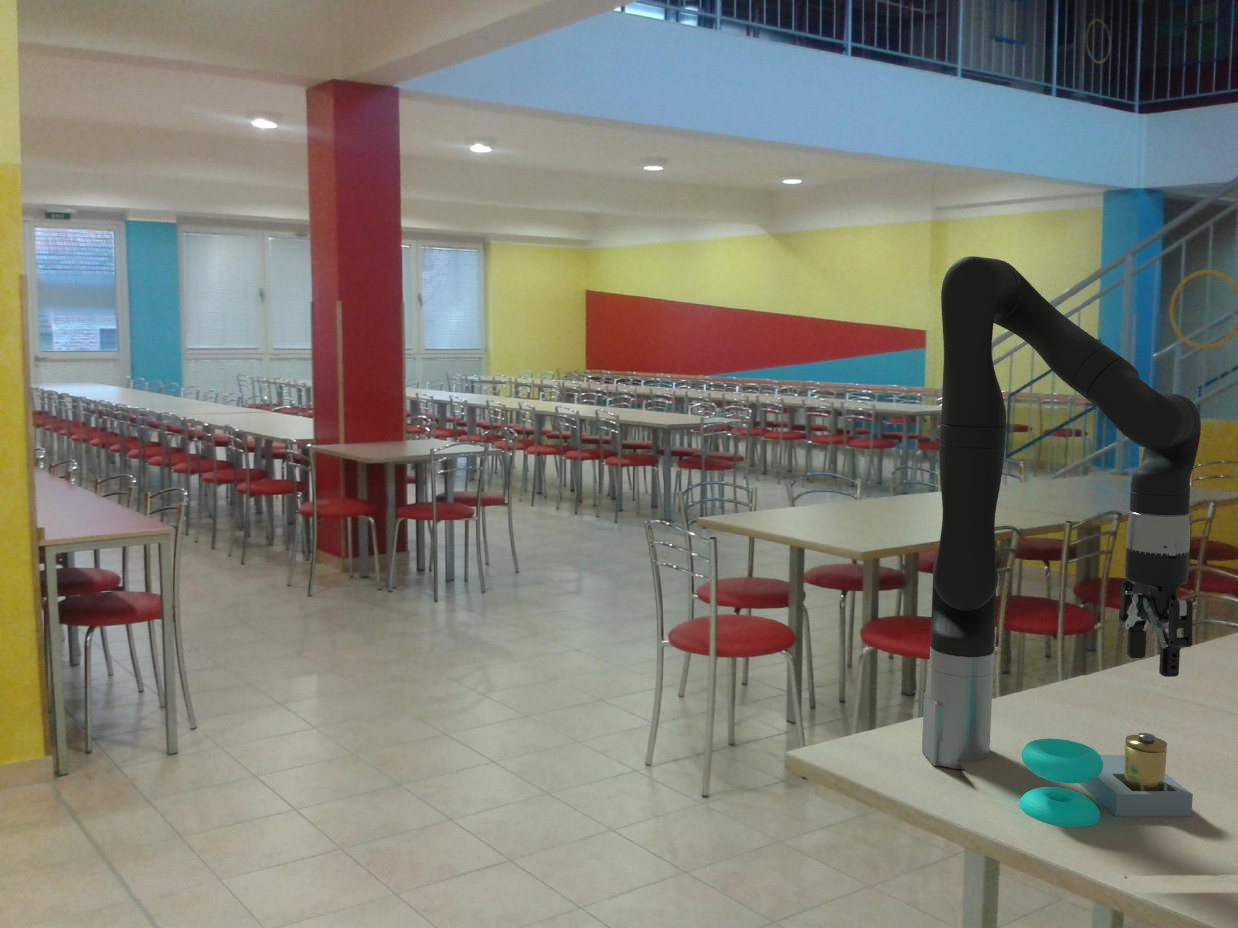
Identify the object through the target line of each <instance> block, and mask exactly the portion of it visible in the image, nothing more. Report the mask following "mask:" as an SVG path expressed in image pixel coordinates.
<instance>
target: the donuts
mask: <svg viewBox="0 0 1238 928" xmlns="http://www.w3.org/2000/svg"><path fill="white" fill-rule="evenodd" d="M1100 755H1101V754H1099V752H1097V751H1096V749H1093V748H1092V747H1090V746H1088V745H1086V744H1083V743H1080V742H1078V741H1077V742H1076V741H1073V740H1068V739H1061V738H1039V739H1035V740H1032V741H1030V742H1028V743H1026V744H1025V746H1024V747H1023V748H1022V751H1021V759H1022V762H1023V764H1024V765H1025V767H1026V768H1027V769H1028V770H1029V771H1030V772H1032V774H1034V775H1036V776H1038V777H1040V778H1043V779H1045V780H1048V781H1051V782H1056V783H1061V784H1079V783H1083V782H1088V781H1091V780H1093V779H1095V778H1096V777H1097V776H1098V775H1099V774H1100V773H1101V772H1102V769H1103V760H1102V758H1101V756H1100ZM1018 807H1019V809H1020V810H1021V811H1022V812H1023V814H1025V815H1026V816H1028V817H1031V818H1032V819H1034V820H1037V821H1040V822H1041V823H1046V824H1049V825H1050V824H1051V825H1054V826H1059V827H1060V826H1061V827H1071V828H1077V827H1079V828H1080V827H1088V826H1092V825H1095V824H1097V823H1098V822H1100V819H1101V813H1100V810H1099V807H1098V806H1097V804H1096V803H1095V802H1094V801H1093V800H1091V799H1090V798H1089V797H1088V796H1086V795H1084V794H1082V793H1081V792H1078V791H1076V790H1072V789H1069V788H1064V787H1056V786H1041V787H1037V788H1033V789H1030V790H1029V791H1026V792H1025V793H1024V794H1023V795H1022V796H1021V798H1020V800H1019V805H1018Z"/></svg>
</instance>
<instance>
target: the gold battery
mask: <svg viewBox="0 0 1238 928" xmlns="http://www.w3.org/2000/svg"><path fill="white" fill-rule="evenodd" d="M1124 747H1125V748H1124V755H1125V759H1124V776H1123V784H1124V785H1126V786H1127V787H1128V788H1129V789H1130V790H1132V791H1164V784H1165V774H1166V768H1167V751H1168V750H1167V749H1168V743H1167V742H1166V741H1165V740H1164V739H1162V738H1159V737H1156V736H1155V735H1154V734H1152V733H1148V732H1139V733H1138V734H1129V735H1127V736H1126V737H1125V743H1124Z"/></svg>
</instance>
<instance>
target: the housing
mask: <svg viewBox="0 0 1238 928" xmlns="http://www.w3.org/2000/svg"><path fill="white" fill-rule="evenodd" d="M1099 755H1100V756H1101V758H1102V760H1103V769H1102V772H1101V773H1100V774H1099V775H1098V776H1097V777H1096V778H1095V779H1093V780H1091V781H1088V782H1083V783H1078V784H1079V785H1080V786H1081V787H1082V788H1083V789H1085V791H1087V792H1088V793H1089V794H1091V796H1092V797H1093V798H1095V799H1096V800H1097V801H1098V802H1099V803H1100V804H1101V805H1102V806H1104V808H1105V809H1107V810H1108V811H1109V812H1110V813H1111V814H1112V815H1114V816H1115V817H1117V818H1119V817H1123V818H1125V817H1126V818H1127V817H1134V818H1135V817H1146V818H1147V817H1151V818H1152V817H1154V818H1156V817H1162V818H1163V817H1165V818H1166V817H1170V818H1171V817H1172V818H1173V817H1176V818H1177V817H1178V818H1179V817H1181V818H1182V817H1184V818H1185V817H1188V818H1189V817H1192V810H1193V800H1194V799H1193V797H1194V794H1193V793H1192V792H1191V791H1189V790H1188V789H1186V788H1185V787H1184V786H1183V785H1181V784H1180V783H1179V782H1177V781H1176V780H1174V779H1173V778H1172V777H1170V776H1169V775H1168V774H1166V773H1165V784H1164V791H1132V790H1130V789H1129V788H1128V787H1127V786H1126V785H1124V784H1123V776H1124V759H1125V754H1099Z"/></svg>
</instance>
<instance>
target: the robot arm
mask: <svg viewBox="0 0 1238 928" xmlns="http://www.w3.org/2000/svg"><path fill="white" fill-rule="evenodd" d="M940 303H941V304H940V306H941V307H940V308H941V321H942V322H941V323H942V341H943V343H942V344H943V368H942V390H941V391H942V392H941V393H942V395H941V396H942V397H941V398H942V399H941V412H940V424H939V444H938V445H939V446H938V447H939V448H938V450H939V451H938V452H939V453H938V457H939V460H938V461H939V465H938V466H939V479H940V492H941V503H942V504H941V505H942V506H941V507H942V521H941V522H942V523H941V530H940V536H939V537H940V538H939V543H938V544H939V545H938V549H937V555H936V558H935V559H934V562H933V567H932V570H933V571H932V590H931V592H932V593H931V594H932V595H931V596H932V597H931V615H930V616H931V617H930V643H929V644H930V646H929V666H928V668H929V671H928V691H925V692H924V693H923V715H922V739H921V741H922V743H921V752H922V754H923V755H924V756H925V758H927V760H928V762H930V764H931V765H933V766H934V767H935V766H937V767H940V766H941V767H945V768H949V769H955V770H956V769H957V770H965V768H964V767H963V765H961V764H960V762H976V761H977V762H978V761H982V760H984V759H985V760H986V759H988V757H989V756H990V752H991V728H992V727H991V724H992V709H993V708H992V706H993V700H992V699H993V683H994V680H993V679H994V665H995V664H994V659H995V639H996V600H997V599H996V596H997V588H998V585H999V574H998V568H997V566H998V565H997V555H996V531H995V530H996V527H995V526H996V522H995V521H996V511H997V504H998V501H999V499H998V498H999V494H1000V488H1001V482H1002V475H1003V468H1004V462H1005V461H1004V460H1005V450H1006V434H1007V411H1006V410H1007V409H1006V403H1005V401H1004V397H1003V393H1002V390H1001V387H1000V383H999V381H998V378H997V374H996V370H995V367H994V360H993V334H994V325H997V326H999V327H1001V328H1003V329H1005V330H1007V331H1009V332H1011V333H1013V334H1014V335H1015V336H1017V337H1019V338H1020V339H1022V340H1023V341H1025V342H1026V343H1027V344H1028V345H1029V346H1030V347H1032V349H1034V351H1035V352H1036V353H1037V355H1039V356H1040V358H1041V359H1042V360H1043V361H1044V362H1045V364H1046V365H1047V366H1048V367H1049V369H1050V370H1051V371H1052V372H1053V373H1054V374H1055V375H1056V376H1057V377H1059V379H1061V381H1063V382H1064V383H1065V384H1067V385H1068V386H1069V387H1070V388H1071V389H1073V390H1074V391H1076V393H1078V394H1079V395H1081V396H1082V397H1084V398H1085V399H1086V400H1088V401H1089V402H1090V403H1092V404H1093V405H1095V406H1096V407H1098V408H1099V410H1100V411H1101V412H1102V413H1103V415H1104V416H1105V417H1106V418H1107V419H1108V420H1109V421H1110V423H1112V425H1114V426H1115V428H1116V429H1117V430H1118V431H1119V432H1121V434H1123V435H1124V436H1125V437H1126V438H1128V440H1130V441H1132V442H1133V443H1134V444H1137V445H1138V446H1140V447H1142V448H1143V453H1142V459H1141V460H1142V461H1141V463H1140V464H1139V466H1138V467H1137V469H1136V470H1135V471H1134V472H1133V474H1132V476H1131V480H1130V494H1129V495H1130V496H1129V499H1130V500H1129V513H1128V514H1129V515H1128V520H1127V525H1126V537H1125V538H1126V540H1125V541H1126V543H1125V544H1126V545H1125V560H1124V561H1125V563H1124V577H1125V579H1122V580H1121V583H1120V584H1121V585H1120V596H1119V600H1120V601H1119V611H1118V613H1119V614H1118V618H1119V620H1118V621H1119V622H1120V623H1124V627H1125V630H1127V644H1126V645H1127V647H1126V655H1127V656H1128V658H1129V657H1130V659H1143V658H1145V657H1146V648H1147V647H1146V646H1147V631H1146V629H1147V628H1148V626H1149V624H1151V629H1152V631H1153V632H1154V633H1156V634H1157V636H1158V639H1159V643H1160V646H1161V647H1159V668H1158V670H1159V671H1158V673H1159V674H1160V675H1161V676H1163V677H1164V678H1165V677H1168V678H1169V677H1170V678H1171V677H1177V676H1179V673H1180V658H1181V657H1180V655H1181V654H1180V653H1181V649H1183V648H1191V647H1192V646H1193V611H1194V610H1193V602H1192V600H1190V599H1179V594H1178V588H1179V587H1181V586H1183V585H1184V586H1185V585H1186V584H1187V583H1188V582H1189V565H1190V564H1189V563H1190V546H1191V545H1190V543H1191V526H1190V524H1191V523H1190V499H1191V477H1192V472H1193V470H1194V467H1195V462H1196V459H1197V455H1198V449H1199V447H1200V446H1199V445H1200V439H1201V434H1202V433H1201V430H1202V422H1201V416H1200V412H1199V410H1198V407H1197V406H1196V404H1195V403H1194V402H1193V401H1192V400H1191V399H1190V398H1188V397H1187V396H1184V395H1181V394H1178V393H1177V394H1176V393H1166V394H1164V393H1163V394H1162V393H1160V392H1159V391H1157V390H1155V389H1154V388H1152V387H1151V386H1149V385H1148V384H1147V383H1146V382H1145V381H1143V380H1142V379H1141V378H1140V374H1139V371H1138V369H1137V368H1136V367H1135V366H1134V365H1133V364H1131V362H1129V361H1128V360H1126V359H1125V358H1124V357H1122V356H1121V355H1120V354H1118V353H1117V352H1115V351H1114V350H1112V349H1111V348H1109V346H1107V345H1106V344H1104V343H1103V342H1101V341H1100V340H1098V338H1096V337H1094V336H1092V334H1090V333H1088V331H1085V329H1083V328H1081V327H1080V326H1078V325H1077V324H1075V322H1073V321H1072V320H1070V319H1069V318H1068V317H1067V316H1065V315H1064V314H1063V313H1061V312H1060V311H1059V310H1058V309H1057V308H1056V307H1055V306H1054V305H1052V304H1051V303H1050V302H1049V301H1048V300H1047V299H1046V298H1045V297H1043V296H1042V295H1041V293H1039V292H1038V290H1037V289H1036V288H1035V287H1034V286H1033V285H1032V284H1031V283H1030V282H1029V281H1028V280H1027V279H1026V277H1024V276H1023V275H1022V274H1021V273H1020V272H1019V271H1018V270H1017V269H1016V268H1015V267H1014V266H1013V265H1011V264H1010V263H1009V262H1006V261H1004V260H1001V259H998V258H991V257H990V258H989V257H984V256H983V257H982V256H975V255H973V256H972V255H971V256H964V257H962V258H959V259H958V260H956V261H954V262H953V263H952V264H951V266H950V267H949V268H948V269H947V271H946V273H945V275H944V278H943V280H942V285H941V292H940ZM1128 607H1129V608H1128ZM1182 629H1183V634H1182V631H1181V630H1182ZM1167 633H1168V634H1167Z"/></svg>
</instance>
